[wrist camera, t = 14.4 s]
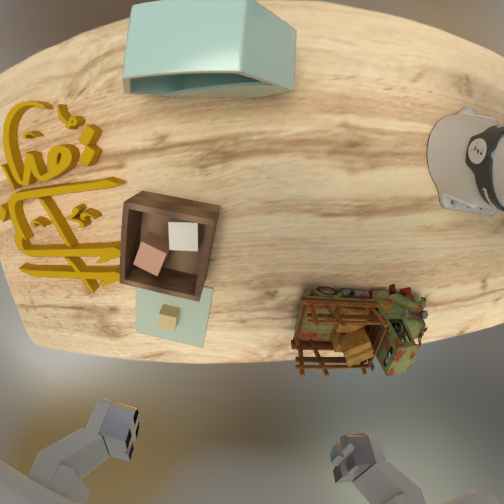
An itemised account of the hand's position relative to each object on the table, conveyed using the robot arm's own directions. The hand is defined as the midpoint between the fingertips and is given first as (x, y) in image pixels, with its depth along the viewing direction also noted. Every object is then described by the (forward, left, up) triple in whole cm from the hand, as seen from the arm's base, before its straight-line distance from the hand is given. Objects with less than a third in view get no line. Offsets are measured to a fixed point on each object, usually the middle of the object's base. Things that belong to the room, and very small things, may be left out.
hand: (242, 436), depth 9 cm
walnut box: (+10, +7, -35) cm, 37 cm away
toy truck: (-23, +13, -35) cm, 44 cm away
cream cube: (+8, +5, -34) cm, 35 cm away
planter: (+9, -18, -35) cm, 41 cm away
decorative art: (+33, +4, -36) cm, 49 cm away
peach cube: (+12, +9, -34) cm, 37 cm away
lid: (+9, +21, -36) cm, 42 cm away
